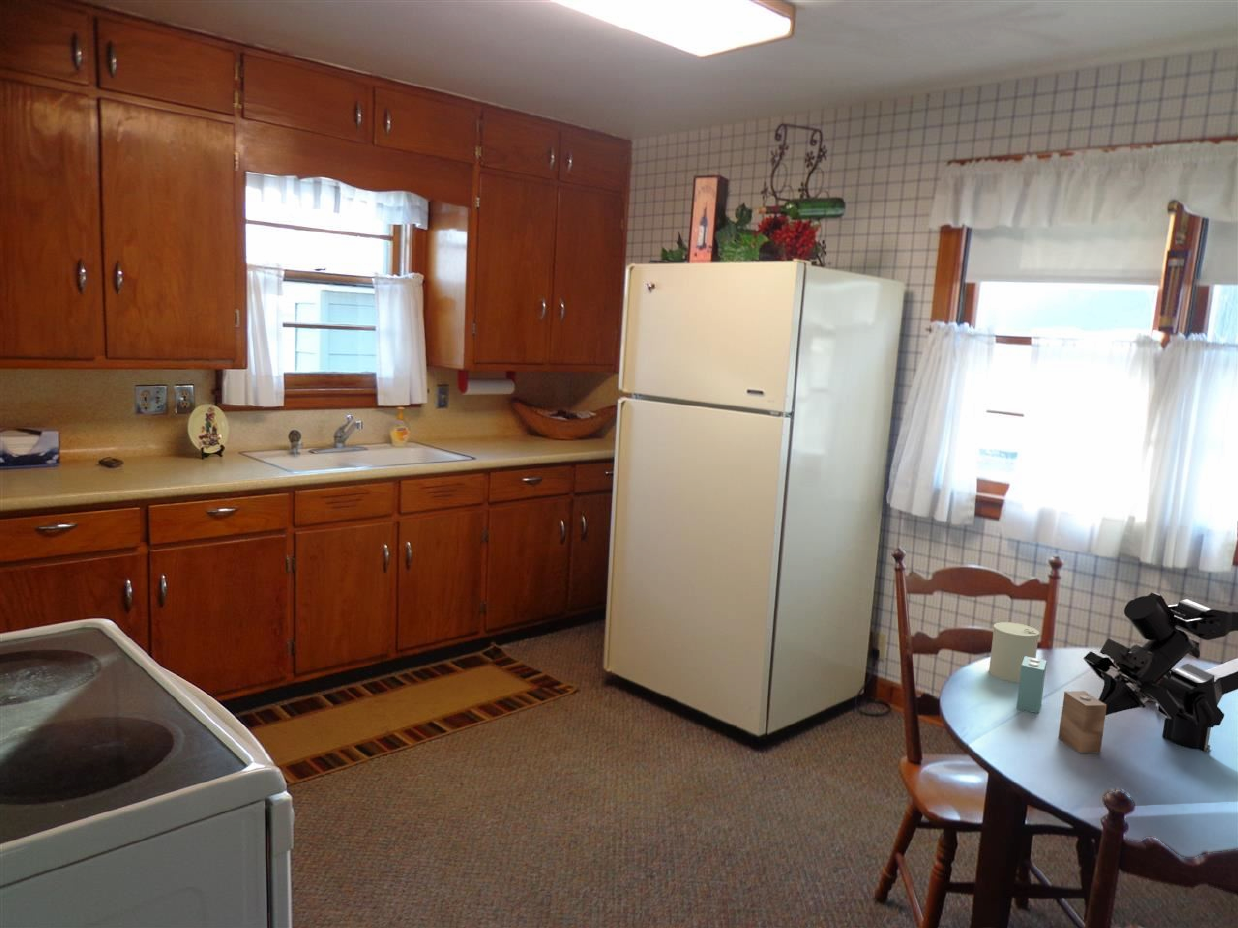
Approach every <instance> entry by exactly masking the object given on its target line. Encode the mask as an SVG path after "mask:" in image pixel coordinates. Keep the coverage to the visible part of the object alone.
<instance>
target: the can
mask: <svg viewBox="0 0 1238 928" xmlns="http://www.w3.org/2000/svg"><path fill="white" fill-rule="evenodd" d="M1039 636H1040V632H1039V630H1037V629H1036V628H1034V627H1032V626H1030V625H1026V624H1023V623H1017V622H1013V621H1012V622H1011V621H1009V622H1007V621H1001V622H996V623H994V625H993V632H992V643H991V652H990V660H989V667H988V668H989V669H988V672H989V674H990V675H991V676H994V677H995V678H998V679H1000V680H1003V681H1007V682H1010V683H1011V682H1012V683H1020V675H1021V666H1022V663H1023V660H1024V658H1025V656H1027V657H1031V658H1036V659H1037V657H1036V656H1037V650H1038V649H1037V648H1038V641H1039Z"/></svg>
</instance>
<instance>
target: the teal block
mask: <svg viewBox="0 0 1238 928" xmlns="http://www.w3.org/2000/svg"><path fill="white" fill-rule="evenodd" d="M1047 662H1048V661H1047V660H1046V659H1040V658H1037V657H1036V658H1031V657H1027V656H1025V658H1024V660H1023V663H1022V666H1021V675H1020V683H1019V684H1018V693H1017V702H1016V709H1018V710H1022V711H1026V712H1030V713H1035V714H1039V713H1040V709H1041V707H1042V701H1043V695H1044V694H1043V692H1044V688H1045V687H1044V685H1045V677H1046V668H1047Z"/></svg>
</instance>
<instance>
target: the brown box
mask: <svg viewBox="0 0 1238 928" xmlns="http://www.w3.org/2000/svg"><path fill="white" fill-rule="evenodd" d="M1063 693H1064V694H1063V698H1062V699H1063V700H1062V707H1061V708H1062V709H1061V717H1060V724H1059V732H1058V739H1059V740H1061V741H1062V742H1063V743H1065V744H1066V745H1068V746H1069V747H1070V748H1071V749H1073V750H1075V751H1076V752H1077V753H1079V754H1099V753H1101V751H1102V750H1101V748H1102V743H1103V735H1104V729H1105V728H1104V726H1105V721H1106V715H1105V714H1106V707H1107V705H1106V704H1104V703H1103V702H1101V701H1099V700H1098V699H1099V698H1096V697H1094V696H1093V695H1091V694H1089V693H1088V692H1086V691H1085V690H1081V691H1078V690H1075V691H1074V690H1073V691H1072V690H1071V691H1064V692H1063Z"/></svg>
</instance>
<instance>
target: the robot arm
mask: <svg viewBox="0 0 1238 928" xmlns="http://www.w3.org/2000/svg"><path fill="white" fill-rule="evenodd" d="M1123 614H1124V615H1125V618H1127V620H1128V622H1130V624H1132V626H1133V627H1134V628H1135V630H1136V631H1137V632H1138V633H1139V635H1140V636H1141V637H1142V638H1143V639H1144V640H1147V641H1146V643H1144V644H1143V645H1142V646H1140V645H1138V644H1134V645H1132V646H1131V647H1128V646H1126V645H1123V644H1122V643H1119V642H1118V641H1116V640H1113V639H1111V637H1107V638H1106V641H1104V642H1105V643H1103V645H1102V648H1101V649H1100V651H1097V650H1090V651H1089V652H1088V653H1087V654H1086V655H1085V656H1084V657H1083V661H1085V663H1086V664H1087V665H1088V666H1089V667H1090V669H1091V670H1092V671H1093V673H1095V674H1096V676H1097V677H1098V678H1099V679H1100V680H1103V684H1104V685H1103V687H1102V690H1101V693H1100V696H1099V697H1098V698H1097V699H1098V700H1099V701H1101V702H1103V703H1104V704H1106V705H1107V707H1106V714H1105V716H1108V715H1111V714H1112V715H1113V714H1116V713H1119V712H1123V711H1127V710H1132V709H1138V708H1141V709H1145V708H1146V705H1145V703H1146V702H1148V701H1147V700H1148V699H1150V700H1152V701H1151V702H1154V703H1155V702H1156V703H1155V704H1157V711H1158V712H1159V714H1161V715H1162V716H1165V718H1164V721H1163V729H1162V736H1161V737H1162V738H1163V739H1165V740H1167V741H1170V742H1172V743H1173V744H1175V745H1177V746H1179V747H1183V748H1186V749H1190V750H1199V751H1201V752H1203V753H1205V754H1207V753H1208V751H1209V750H1210V749H1211V745H1210V742H1209V741H1210V735H1211V728H1214V727H1215V726H1220V725H1221V724H1222V722H1223V720H1224V717H1225V714H1224V712H1223V711H1222V710H1221V708H1220V707H1219V706H1218V705H1219V704H1220V701H1221V700H1222V698H1223V696H1224V695H1227V694H1229V693H1232V692H1235V691H1237V690H1238V657H1237V658H1235V659H1232V660H1229V661H1227V662H1224V663H1221V664H1218V665H1216V666H1214V667H1210V668H1208V669H1202V668H1200V667H1198V666H1197V665H1194V664H1191V663H1186V664H1182V665H1181V666H1179V667H1176V668H1174V667H1175V666H1176V665H1178V663H1180V661H1182V659H1184V658H1185V657H1186V656H1187V655H1190V656H1192V657H1194V658H1196V659H1199V658H1200V657H1201V652H1200V642H1198V641H1196V640H1194V639H1191V638H1190V637H1189V635H1188V634H1190V635H1193V636H1194V637H1197V638H1200V639H1202V640H1206V641H1211V640H1215V639H1220V638H1224V637H1226V636H1228V634H1230V633H1233V632H1238V605H1223V606H1222V605H1216V604H1212V603H1208V602H1205V601H1199V600H1193V599H1183V600H1180V601H1179V602H1178V603H1177V604H1171V605H1168V604H1167V603H1166V601H1165V598H1164V597H1163V596H1162V595H1161V594H1159V593H1156V592H1153V591H1152V592H1151V593H1150V594H1148V595H1141V596H1139V597H1136V598H1134V599H1131V600H1130V601H1128V602H1127V604H1126V605H1125V606H1124V609H1123ZM1187 633H1188V634H1187ZM1112 660H1113V661H1112ZM1113 662H1114V663H1115V664H1116V665H1117V666H1118V667H1119V668H1120V669H1118V668H1117V667H1116V666H1115V665H1114V663H1113ZM1125 679H1127V680H1125ZM1160 679H1161V681H1160V683H1159V684H1157V682H1158V681H1159V680H1160Z"/></svg>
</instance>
